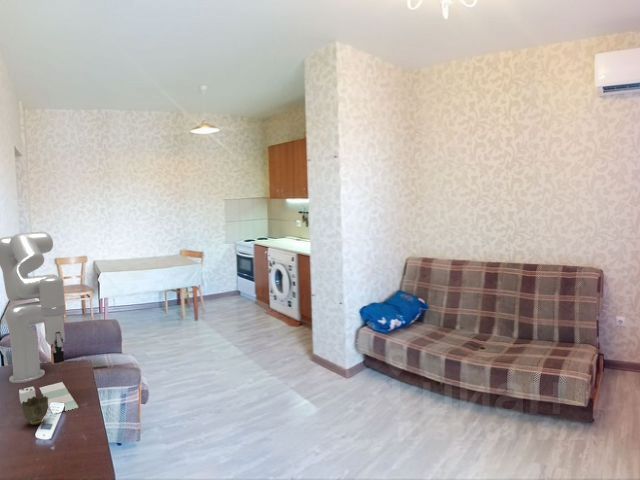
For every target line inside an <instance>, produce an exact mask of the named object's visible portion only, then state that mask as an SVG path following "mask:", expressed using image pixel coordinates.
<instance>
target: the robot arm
mask: <svg viewBox="0 0 640 480" xmlns="http://www.w3.org/2000/svg"><path fill="white" fill-rule="evenodd" d="M53 247H54V240H53V238H52V236H51V235H50V234H49V233H48V232H46V231H36V232H35V231H34V232H31V231H30V232H20V233H17V234H14V235H13V236H6V237H0V269H1V272H2V277H3V278H2V279H3V282H4V283H3V284H4V291H5V294H6V298H7V299H8V300H9V301H10V302H21V301H26V300H33V299H38V300H37V301H30V302H24V303H18V304H14V305H12V306H9V307H7V309H6V310H5V315H4V316H5V321H6V324H7V325H6V326H7V329H8V334H9V339H10V340H9V341H10V343H9V344H10V350H11V351H10V352H11V362H12V364H11V365H12V373H13V374H12V375H10V376H9V379H8V380H9V382H10V383H12V384H13V383H14V384H15V383H16V384H17V383H19V384H21V383H28V382H31V381H35V380H37V379H40V378H42V377H43V376H45V374H46V372H45V370H44V369H41V362H40V352H39V350H40V349H39V339H38V338H39V337H38V333H37V332H36V331H35V330H34V329H32V328H31V327H30V326H34V325H38V324H39V325H40V324H42V323H43V324H44V339H45V342H46V343H47V344H48V345H49V346H50V350H51V349H52V347H53V349H54V352H53V359H54V363H55V364H54V365H57V364H56V363H60V362H63V363H64V362H65V352H64V351H65V350H64V347H63V344H64V343H65V341H66V337H65V336H66V335H65V324H64V316H65V315H66V314H67V312H66V309H67V308H66V299H65V289H64V279H63V278H62V277H61V276H59V275H56V274H45V275H36V276H35V275H33V276H30V275H28V274H30V273H32V272H34V271H36V270H38V269H39V268H41V267H42V266H43V265H44V262H45V256H44V254H46V253H50V252H51V251H52V250H53ZM55 345H57V346H56V347H55ZM63 350H64V351H63ZM60 364H61V363H60Z"/></svg>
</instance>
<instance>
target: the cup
mask: <svg viewBox="0 0 640 480" xmlns="http://www.w3.org/2000/svg"><path fill="white" fill-rule="evenodd" d="M21 404H22V405H21ZM20 405H21V408H22V411H23V416H24V418H25V419H26V420H27V421H29V423H30V425H31V426H37V425H40V424H42V423H41V421H42V419H43V420H44V418H45V416H46V415H47V413H48V408H49V406H48V396H47V397H46V396H45V397H44V396H43V395H42V396H40V395H38V396H36V397H35V396H34V397H32V398H31V399H30V398H28V399H27V402H24V401H23V403H21V402H20Z"/></svg>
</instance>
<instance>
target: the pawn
mask: <svg viewBox="0 0 640 480" xmlns="http://www.w3.org/2000/svg"><path fill="white" fill-rule="evenodd" d="M56 346H57V345H55V347H56ZM63 351H65V350H64V349H63ZM53 352H54V349H53V347H52V349H51V348H50V360H51V365H59V364H63V363H64V362H60V363H56V364H55V363H54V359H53Z"/></svg>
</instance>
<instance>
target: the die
mask: <svg viewBox="0 0 640 480" xmlns="http://www.w3.org/2000/svg"><path fill="white" fill-rule="evenodd" d="M18 395H19V402H20V405H21V406H22V404H21V403H23V401H24V402H27V399H28V398H30V399H31V398H32V397H34V396H35V397H36V398H37V396H36V389H35V387H34V386H29V387H25V388H20V389H19V390H18Z"/></svg>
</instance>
